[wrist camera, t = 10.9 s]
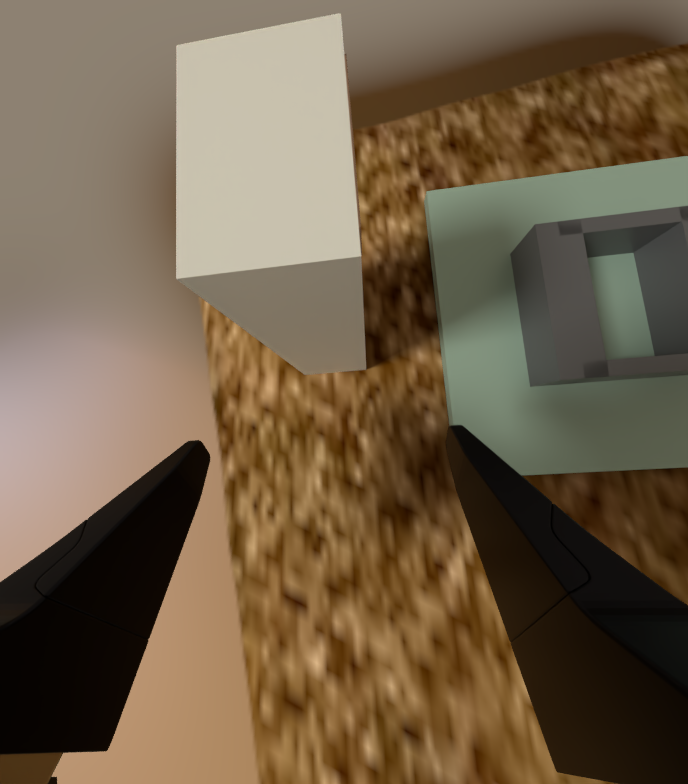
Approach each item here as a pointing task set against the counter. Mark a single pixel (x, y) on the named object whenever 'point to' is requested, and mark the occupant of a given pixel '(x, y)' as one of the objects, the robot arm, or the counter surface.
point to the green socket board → (567, 316)
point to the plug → (273, 190)
